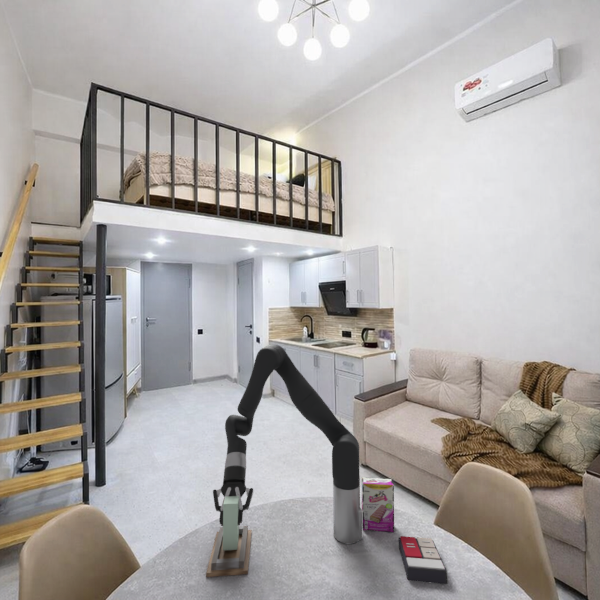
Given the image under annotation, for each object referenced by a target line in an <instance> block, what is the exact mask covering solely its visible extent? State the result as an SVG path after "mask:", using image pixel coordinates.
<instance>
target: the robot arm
mask: <svg viewBox="0 0 600 600" xmlns="http://www.w3.org/2000/svg"><path fill="white" fill-rule="evenodd" d="M274 371H275V372H276V373H277V375H278V376H279V377H280V378H281V379H282V381H283V382H284V384H285V387H286V390H287V393H288V396H289V398H290V400H291V402H292V404H293V405H294V407H295V408H296V409H297V410H298V411H299V413H300V414H301V415H302V416H303V417H304V418H305V419H306V420H307V421H308V422H309V423H311V424H312V425H314V426H315V427H316V428H317V429H319V430H320V431H321V432H322V433H323V434H324V436H325V437H326V439H328V441H329V442H330V445H332V450H331V468H332V469H331V471H332V472H331V474H332V492H333V493H332V495H333V497H332V498H333V500H332V501H333V509H332V510H333V514H332V515H333V537H334V538H335V540H337V541H338V542H340V543H341V544H348V545H349V544H351V545H352V544H355V543H357V542H359V541H363V527H362V507H361V485H360V484H361V481H360V479H361V478H360V477H361V475H360V444H359V442H358V441H359V440H357V438H356V437H355V436H354V435H353V434H352V432H350V431H349V430H348V428H346V427H345V426H344V425H343V424H342V422H340V420H339V419H338V418H337V417H336V415H335V414H334V413H333V411H332V410H331V409H330V407H329V406H328V405H327V404H326V402H325V401H324V399H323V398H322V396H320V394H318V392H317V391H316V390H315V388H314V387H313V386H312V385H311V384H310V383H309V382H308V380H307V379H306V378H305V377H304V375H303V374H302V373H301V372H300V371H299V369H298V368H297V367H296V365H295V364H294V362H293V360H292V359H291V357H290V356H289V355H288V353H287V352H286V350H285V349H284V348H283V347H282V346H281V345H279V344H277V343H272V344H269V345H266V346H264V347H261V349H259V351H258V352H257V354H256V356H255V360H254V363H253V367H252V371H251V374H250V378H249V380H248V383H247V386H246V388H245V390H244V392H243V395H242V396H241V399H240V401H239V403H238V406H237V411H238V412H237V413H239V414H240V415H237V414H231V415H229V416H228V417H227V418H226V420H225V423H224V424H225V426H224V429H225V434H226V441H227V449H226V458H225V463H224V470H223V481H222V485H221V487H220V488H219V489H213V490H212V495H213V502H214V508H215V511H216V512H219V520H218V521H219V524H220V527H223V504H224V500H225V497H227V496H239V510H238V525H239V526H241V524H242V523H243V516H244V515H243V514H244V512H245V511H247V510H249V508H250V506H251V502H252V498H253V495H254V488H252V487H250V488H249V487H247V486H246V472H247V448H248V447H247V446H248V445H247V441H246V440H245V439H244V438H243V437H247V436H249V435H250V434H251V433H252V431H253V430H252V429H253V423H254V418H255V415H256V414H255V413H256V411H257V409H258V408H259V405H260V403H261V401H262V398H263V397H262V396H263V393H264V387H265V385H266V382H267V380H268V379H269V377H270V376H271V375H272V373H273V372H274ZM221 494H222V496H223V500H222V503H221V505H220V502H219V498H220V496H221ZM244 494H246V496H247V498H246V501H245V503H244V504H243V501H242V497H243V496H244Z"/></svg>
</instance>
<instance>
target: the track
mask: <svg viewBox="0 0 600 600" xmlns="http://www.w3.org/2000/svg"><path fill="white" fill-rule="evenodd" d="M252 533H253V532H252V529H249V527H248V525H239V541H238V547H237V550H223V526H220V527H219V530H218V531H216V533H215V538H214V541H213V546H212V549H211V553H210V556H209V561H208V565H207V568H206V573H205V577H206V578H212V577H224V576H225V577H226V576H227V577H228V576H239V575H240V576H242V575H248V574H249V563H250V555H251V553H250V552H251V545H252V544H251V543H252Z"/></svg>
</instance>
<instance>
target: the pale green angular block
mask: <svg viewBox="0 0 600 600" xmlns="http://www.w3.org/2000/svg"><path fill="white" fill-rule="evenodd" d="M223 500H224V499H223ZM238 510H239V496H227V497H225V500H224V504H223V526H222V527H223V550H237V547H238V541H239V526H240V525H238Z"/></svg>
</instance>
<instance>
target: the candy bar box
mask: <svg viewBox="0 0 600 600" xmlns="http://www.w3.org/2000/svg"><path fill="white" fill-rule="evenodd" d="M394 489H395V485H394V482H393V479H391V478H381V477H380V478H377V477H361V510H362V531H370V532H384V533H395V490H394Z"/></svg>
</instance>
